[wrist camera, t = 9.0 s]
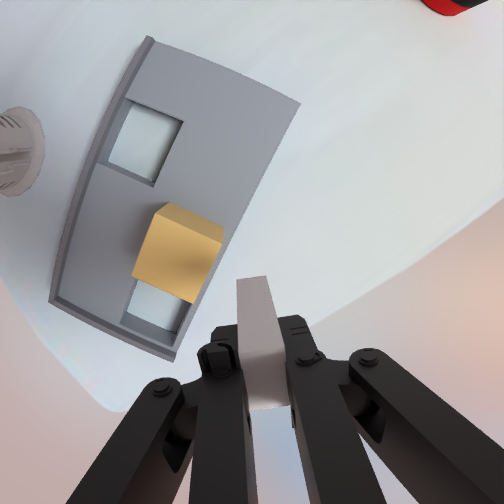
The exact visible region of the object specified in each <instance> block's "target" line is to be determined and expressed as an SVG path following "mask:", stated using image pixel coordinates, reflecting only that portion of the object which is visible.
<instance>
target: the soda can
mask: <svg viewBox="0 0 504 504" xmlns="http://www.w3.org/2000/svg"><path fill="white" fill-rule="evenodd" d="M423 1H424V2H425V3H426V4H427V5H428V6H429V7H430V8H432V9H433V10H435V11H437V12H439V13H441V14H444V15H447V16H455V15H457V14H459V13H461V12H463V11H466V10H468V9H470V8H472V7H474V6H477V5H479V4H481V3H483V2H486V1H488V0H423Z"/></svg>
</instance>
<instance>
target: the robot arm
mask: <svg viewBox="0 0 504 504" xmlns="http://www.w3.org/2000/svg"><path fill="white" fill-rule="evenodd" d="M237 321H238V324H235V325H227V326H219V327H216V328H215V330H214V331H213V332H212V333H211V342H210V343H209V344H206V345H204V346H203V347H202V348H200V349H199V351H198V353H197V356H198V360H199V364H200V368H201V371H202V377H201V378H199V379H197V380H195V381H193V382H190V383H187V384H183V385H180V382H179V381H177V380H176V379H173V378H170V377H168V378H159V379H155V380H154V381H152V382H150V383H149V384H148V385H147V386H146V387H145V388H144V389H143V391H142V392H141V394H140V395H139V396H138V398H137V399H136V401H135V402H134V404H133V405H132V407H131V408H130V410H129V411H128V412H127V414H126V415H125V417H124V418H123V420H122V421H121V423H120V424H119V426H118V427H117V429H116V430H115V432H114V433H113V434H112V436H111V437H110V439H109V440H108V442H107V443H106V445H105V446H104V448H103V449H102V451H101V452H100V453H99V455H98V456H97V458H96V459H95V461H94V462H93V464H92V465H91V467H90V468H89V470H88V471H87V472H86V474H85V475H84V477H83V478H82V480H81V481H80V483H79V484H78V486H77V487H76V489H75V490H74V492H73V493H72V495H71V496H70V498H69V499H68V501H67V502H66V504H172V502H173V501H174V498H175V496H176V494H177V491H178V489H179V487H180V484H181V482H182V480H183V477H184V475H185V473H186V470H187V468H188V466H189V463H190V461H191V459H192V456H193V460H192V470H191V481H190V492H189V504H258V496H257V485H256V473H255V462H254V449H253V438H252V425H251V418H250V413H249V410H250V411H252V410H260V409H268V408H275V407H281V406H288V405H291V415H292V416H291V417H292V428H294V430H295V434H296V439H297V444H298V448H299V453H300V458H301V462H302V467H303V472H304V476H305V481H306V486H307V490H308V495H309V500H310V504H387V503H386V500H385V498H384V495H383V493H382V490H381V488H380V486H379V483H378V480H377V478H376V475H375V473H374V470H373V468H372V465H371V463H370V460H369V458H368V455H367V453H366V451H365V448H364V446H363V443H362V441H361V438H360V436H359V434H360V435H361V436H362V437H363V439H364V440H365V441H366V442H367V443H368V445H369V446H370V447H371V448H372V449H373V451H374V452H375V453H376V454H377V455H378V456H379V458H380V459H381V460H382V461H383V462H384V463H385V465H386V466H387V467H388V468H389V469H390V471H391V472H392V473H393V474H394V475H395V476H396V478H397V479H398V480H399V481H400V482H401V483H402V484H403V486H404V487H405V488H406V489H407V490H408V491H409V493H410V494H411V495H412V496H413V497H414V498H415V499H416V501H417V502H418V503H419V504H504V449H503V448H502V447H501V446H499V445H498V444H497V443H496V442H494V441H493V440H492V439H491V438H490V437H488V436H487V435H486V434H485V433H483V432H482V431H481V430H479V429H478V428H477V427H476V426H475V425H473V424H472V423H471V422H470V421H468V420H467V419H466V418H465V417H464V416H462V415H461V414H460V413H459V412H457V411H456V410H455V409H454V408H452V407H451V406H450V405H449V404H448V403H446V402H445V401H443V399H441V398H440V397H439V396H438V395H436V394H435V393H434V392H433V391H431V390H430V389H429V388H428V387H426V386H425V385H424V384H423V383H421V382H420V381H419V380H418V379H416V378H415V377H414V376H413V375H412V374H410V373H409V372H408V371H407V370H405V369H404V368H403V367H402V366H400V365H399V364H398V363H397V362H395V361H394V360H393V359H392V358H390V357H389V356H388V355H387V354H385V353H384V352H382V351H380V350H378V349H374V348H364V349H360V350H357V351H355V352H354V353H352V355H351V356H350V358H349V361H338V360H331V359H327V358H326V356H325V355H324V354H323V353H322V352H321V351H319V350H318V349H317V347H316V344H315V342H314V340H313V337H312V335H311V333H310V330H309V328H308V325H307V323H306V321H305V319H304V318H302V317H301V316H299V315H292V316H286V317H279V318H277V315H276V312H275V308H274V304H273V300H272V297H271V293H270V289H269V286H268V282H267V278H266V276H259V277H252V278H245V279H238V280H237ZM358 433H359V434H358Z"/></svg>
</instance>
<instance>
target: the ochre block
mask: <svg viewBox="0 0 504 504" xmlns="http://www.w3.org/2000/svg"><path fill="white" fill-rule="evenodd" d="M223 234H224V227H223V226H220V225H218V224H216V223H214V222H212V221H210V220H207V219H205V218H203V217H201V216H199V215H197V214H194V213H192V212H190V211H188V210H186V209H184V208H181V207H179V206H177V205H175V204H173V203H171V202H169V203H167V204H166V205H165V206H164V207H162V208H161V209H160V210H158V211H157V212H156V213H155V215H154V217H153V220H152V222H151V224H150V227H149V229H148V232H147V235H146V237H145V240H144V242H143V245H142V247H141V250H140V253H139V255H138V258H137V261H136V264H135V266H134V269H133V272H132V275H131V276H133V277H135V278H137V279H139V280H141V281H143V282H145V283H147V284H150V285H152V286H154V287H156V288H158V289H161V290H163V291H165V292H167V293H169V294H172V295H174V296H176V297H178V298H181V299H183V300H185V301H188V302H190V303H192V304H194V302H195V300H196V298H197V296H198V294H199V291H200V289H201V287H202V285H203V283H204V281H205V279H206V277H207V275H208V273H209V270H210V268H211V266H212V264H213V262H214V260H215V258H216V256H217V254H218V252H219V250H220V248H221V246H222V242H223Z"/></svg>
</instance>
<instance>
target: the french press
mask: <svg viewBox="0 0 504 504" xmlns="http://www.w3.org/2000/svg"><path fill="white" fill-rule="evenodd" d="M0 115H1V116H0V193H1V194H3V195H5V196H18V195H20V194H22V193H23V192H24V191H26V190H27V189H29V188H30V187H31V185H32V184H33V182H34V181H35V179H36V178H37V176H38V175H39V172H40V169H41V165H42V162H43V158H44V140H45V137H44V134H43V130H42V127H41V123H40V121H39V119H38V118H37V117H36V116H35V115H34V113H33V112H32V111H31V110H28V109H25V108H22V107H16V108H13V109H9V110H7V111H6V112H4V113H3V114H0Z"/></svg>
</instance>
